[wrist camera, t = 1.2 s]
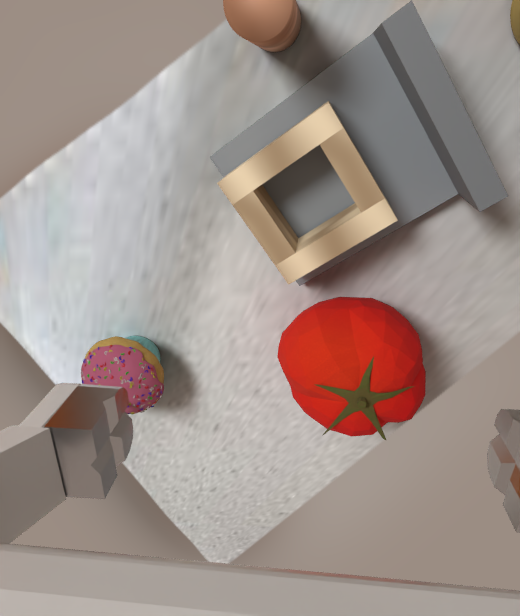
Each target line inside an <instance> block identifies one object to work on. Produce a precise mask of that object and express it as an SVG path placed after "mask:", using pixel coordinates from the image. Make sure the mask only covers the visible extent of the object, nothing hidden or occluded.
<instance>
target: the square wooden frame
mask: <svg viewBox="0 0 520 616" xmlns="http://www.w3.org/2000/svg"><path fill="white" fill-rule="evenodd" d="M318 145H320V146H321V148H322V149H323V151H324V153H325V154H326V156H327V158H328V159H329V161H330V163H331V164H332V166H333V167H334V169H335V171H336V172H337V174H338V176H339V177H340V179H341V181H342V182H343V184H344V185H345V187H346V189H347V190H348V192H349V194H350V195H351V197H352V199H353V200H354V202H355V203H354V204H353V205H351V206H349V207H348V208H346V209H345V210H343V211H341V212H340V213H338V214H337V215H335V216H333V217H332V218H330V219H329V220H327V221H325V222H324V223H322V224H321V225H319V226H317V227H316V228H314V229H313V230H311V231H309V232H308V233H306V234H305V235H303V236H301V237H300V238H298V237H297V235H296V234H295V233H294V231H293V230H292V228H291V227H290V225H289V224H288V222H287V221H286V219H285V218H284V216H283V215H282V213H281V212H280V210H279V209H278V207H277V206H276V204H275V203H274V201H273V200H272V198H271V197H270V195H269V194H268V192H267V191H266V189H265V188H264V186H263V185H262V184H263V183H265V182H266V181H268V180H269V179H270V178H272V177H273V176H275V175H276V174H278V173H279V172H281V171H282V170H283V169H285V168H286V167H288V166H289V165H291V164H292V163H293V162H295V161H296V160H298V159H299V158H301V157H302V156H304V155H305V154H306V153H308V152H309V151H311V150H312V149H314V148H315V147H316V146H318ZM217 184H218V185H219V186H220V188H221V189H222V191H223V192H224V194H225V195H226V196H227V198H228V199H229V201H230V202H231V203H232V205H233V206H234V208H235V209H236V211H237V212H238V213H239V215H240V216H241V218H242V219H243V220H244V222H245V223H246V225H247V226H248V228H249V229H250V230H251V232H252V233H253V235H254V236H255V237H256V239H257V240H258V242H259V243H260V245H261V246H262V247H263V249H264V250H265V252H266V253H267V254H268V256H269V257H270V259H271V260H272V262H273V263H274V264H275V266H276V267H277V269H278V270H279V271H280V273H281V274H282V276H283V277H284V279H285V280H286V281H287V283H288V284H290V283H292V282H294V281H295V280H297V279H299V278H300V277H302V276H304V275H306V274H307V273H309V272H311V271H312V270H314V269H316V268H318V267H319V266H321V265H323V264H324V263H326V262H328V261H329V260H331V259H333V258H335V257H336V256H338V255H340V254H341V253H343V252H345V251H346V250H348V249H350V248H352V247H353V246H355V245H357V244H358V243H360V242H362V241H364V240H365V239H367V238H369V237H370V236H372V235H374V234H375V233H377V232H379V231H381V230H382V229H384V228H386V227H387V226H389V225H391V224H392V223H394V222H396V221H398V220H397V218H396V216H395V214H394V212H393V210H392V208H391V206H390V205H389V203H388V201H387V199H386V198H385V196H384V194H383V193H382V191H381V189H380V188H379V186H378V184H377V182H376V181H375V179H374V177H373V176H372V174H371V172H370V170H369V169H368V167H367V165H366V164H365V162H364V160H363V159H362V157H361V155H360V153H359V152H358V150H357V148H356V147H355V145H354V143H353V142H352V140H351V138H350V136H349V135H348V133H347V131H346V130H345V128H344V126H343V124H342V123H341V121H340V119H339V118H338V116H337V114H336V113H335V111H334V109H333V107H332V106H331V104H330V102H329V101H328V102H326V103H325V104H323V105H322V106H321V107H319V108H318V109H317V110H315V111H314V112H312V113H311V114H310V115H308V116H307V117H306V118H304V119H303V120H301V121H300V122H299V123H297V124H296V125H295V126H293V127H292V128H290V129H289V130H288V131H286V132H285V133H284V134H282V135H281V136H279V137H278V138H277V139H275V140H274V141H273V142H271V143H270V144H269V145H267V146H266V147H264V148H263V149H262V150H260V151H259V152H258V153H256V154H255V155H253V156H252V157H251V158H249V159H248V160H247V161H245V162H244V163H242V164H241V165H240V166H238V167H237V168H236V169H234V170H233V171H231V172H230V173H229V174H227V175H226V176H225V177H224V178H223V179H222V180H221V181H219V182H218V183H217Z"/></svg>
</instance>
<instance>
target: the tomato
mask: <svg viewBox="0 0 520 616" xmlns="http://www.w3.org/2000/svg"><path fill="white" fill-rule="evenodd" d="M278 359H279V362H280V364H281V367H282V369H283V372H284V374H285V376H286V378H287V380H288V382H289V384H290V386H291V390H292V395H293V398H294V399H295V400H296V402H297V403H298V404H299V405H300V407H301V408H302V409H303V411H304V412H305V413H306V414H308V415H309V416H310V417H311V418H313V419H314V420H316V421H317V422H318V423H320V424H321V425H323V426H324V427H325V428H327V430H326V432H328V431H329V430H333V431H336V432H339V433H343V434H346V435H349V436H362V435H372V434H374V433H375V432H377V431H378V432H379V433H380V435H381V436H382V438H383V439H385V440H386V438H385V436H384V433H383V431H382V428H381V427H383V426H384V425H385V424H386V423H387V422H398V423H399V422H402V421H406V420H410V419H412V417H413V416H414V414H415V413H416V411H417V410H418V408H419V407H420V405H421V403H422V401H423V399H424V396H425V369H424V366H423V363H422V362H423V358H422V348H421V344H420V339H419V335H418V333H417V332H416V331H415V329H414V328H413V327H412V325H411V324H410V323H409V321H408V320H407V319H406V318H405V317H404V316H402V315H401V314H400V313H399V312H398V311H397V310H396V309H394V308H393V307H391V306H389V305H387V304H385V303H382V302H380V301H378V300H375V299H373V298H355V297H337V298H333V299H330V300H326V301H322V302H318V303H317V304H315V305H313V306H311V307H310V308H308V309H306V310H304V311H303V312H302V313H301V314H299V315H298V316H297V317H296V318H295V320H294V321H293V322H292V323H291V324H290V325H289V326H288V327H287V328H286V330H285V331H284V332H283V333H282V336H281V340H280V343H279V348H278ZM326 432H325V433H326ZM325 433H324V434H325ZM324 434H323V435H324ZM323 435H322V436H323Z"/></svg>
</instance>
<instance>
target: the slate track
mask: <svg viewBox="0 0 520 616" xmlns="http://www.w3.org/2000/svg"><path fill="white" fill-rule="evenodd" d="M328 101H329V102H330V104H331V106H332V107H333V109H334V111H335V113H336V114H337V116H338V118H339V119H340V121H341V123H342V124H343V126H344V128H345V130H346V131H347V133H348V135H349V136H350V138H351V140H352V142H353V143H354V145H355V147H356V148H357V150H358V152H359V153H360V155H361V157H362V159H363V160H364V162H365V164H366V165H367V167H368V169H369V170H370V172H371V174H372V176H373V177H374V179H375V181H376V182H377V184H378V186H379V188H380V189H381V191H382V193H383V194H384V196H385V198H386V199H387V201H388V203H389V205H390V206H391V208H392V210H393V212H394V214H395V216H396V218H397V220H398V221H396V222H394V223H392V224H391V225H389V226H387V227H386V228H384V229H382V230H381V231H379V232H377V233H375V234H374V235H372V236H370V237H369V238H367V239H365V240H364V241H362V242H360V243H358V244H357V245H355V246H353V247H352V248H350V249H348V250H346V251H345V252H343V253H341V254H340V255H338V256H336V257H335V258H333V259H331V260H329V261H328V262H326V263H324V264H323V265H321V266H319V267H318V268H316V269H314V270H312V271H311V272H309V273H307V274H306V275H304V276H302V277H300V278H299V279H297V280H296V282H297V283H298V284H299V286H300V285H302V284H304V283H305V282H307V281H309V280H311V279H312V278H314V277H316V276H318V275H319V274H321V273H323V272H324V271H326V270H328V269H330V268H331V267H333V266H335V265H337V264H338V263H340V262H342V261H343V260H345V259H347V258H349V257H350V256H352V255H354V254H355V253H357V252H359V251H361V250H362V249H364V248H366V247H368V246H369V245H371V244H373V243H374V242H376V241H378V240H380V239H381V238H383V237H385V236H387V235H388V234H390V233H392V232H393V231H395V230H397V229H399V228H400V227H402V226H404V225H406V224H407V223H409V222H411V221H412V220H414V219H416V218H418V217H419V216H421V215H423V214H424V213H426V212H428V211H430V210H431V209H433V208H435V207H437V206H438V205H440V204H442V203H443V202H445V201H447V200H449V199H450V198H452V197H454V196H456V195H457V194H459V195H460V196H462V197H463V198H464V199H465V200H466V201H467V202H469V203H470V204H471V205H472V206H473V207H475V208H476V209H477V210H478V211H479V212H481V211H483V210H484V209H486V208H488V207H490V206H492V205H493V204H495V203H497V202H499V201H501V200H502V199H504V198H506V197H508V194H507V192H506V190H505V188H504V186H503V184H502V182H501V180H500V178H499V176H498V174H497V172H496V170H495V168H494V166H493V164H492V162H491V160H490V158H489V156H488V154H487V152H486V150H485V148H484V146H483V144H482V142H481V140H480V138H479V136H478V134H477V132H476V130H475V128H474V125H473V123H472V121H471V119H470V117H469V115H468V113H467V111H466V109H465V107H464V105H463V103H462V101H461V99H460V97H459V95H458V93H457V91H456V89H455V87H454V85H453V83H452V81H451V79H450V77H449V75H448V73H447V71H446V69H445V67H444V65H443V63H442V61H441V59H440V57H439V55H438V53H437V51H436V49H435V46H434V44H433V42H432V40H431V38H430V36H429V34H428V32H427V30H426V28H425V26H424V24H423V22H422V20H421V18H420V16H419V14H418V12H417V10H416V8H415V6H414V4H413V2H412V1H410V2H409V3H408V4H406V5H405V6H404V7H402V8H401V9H400V10H398V11H397V12H396V13H394V14H393V15H392V16H391V17H389V18H388V19H387V20H385V21H384V22H383V23H381V25H380V26H379V27H378V28H377V29H376V30H375V31H374V33H373V34H371V35H370V36H369V37H367V38H366V39H365V40H363V41H362V42H361V43H359V44H358V45H357V46H355V47H354V48H353V49H351V50H350V51H349V52H348V53H346V54H345V55H344V56H342V57H341V58H340V59H338V60H337V61H336V62H334V63H333V64H332V65H330V66H329V67H328V68H326V69H325V70H324V71H322V72H321V73H320V74H318V75H317V76H316V77H315V78H313V79H312V80H311V81H309V82H308V83H307V84H305V85H304V86H303V87H301V88H300V89H299V90H297V91H296V92H295V93H293V94H292V95H291V96H289V97H288V98H287V99H286V100H284V101H283V102H282V103H280V104H279V105H278V106H276V107H275V108H274V109H272V110H271V111H270V112H268V113H267V114H266V115H264V116H263V117H262V118H260V119H259V120H258V121H257V122H255V123H254V124H253V125H251V126H250V127H249V128H247V129H246V130H245V131H243V132H242V133H241V134H239V135H238V136H237V137H235V138H234V139H233V140H231V141H230V142H229V143H228V144H226V145H225V146H224V147H222V148H221V149H220V150H218V151H217V152H216V153H214V154H213V155H212V156H210V158H211V160H212V161H213V163H214V164H215V166H216V167H217V168H218V170H219V171H220V173H221V174H222V176H223V177H225V176H226V175H227V174H229V173H230V172H231V171H233V170H234V169H236V168H237V167H238V166H240V165H241V164H242V163H244V162H245V161H247V160H248V159H249V158H251V157H252V156H253V155H255V154H256V153H258V152H259V151H260V150H262V149H263V148H264V147H266V146H267V145H269V144H270V143H271V142H273V141H274V140H275V139H277V138H278V137H279V136H281V135H282V134H284V133H285V132H286V131H288V130H289V129H290V128H292V127H293V126H295V125H296V124H297V123H299V122H300V121H301V120H303V119H304V118H306V117H307V116H308V115H310V114H311V113H312V112H314V111H315V110H317V109H318V108H319V107H321V106H322V105H323V104H325V103H326V102H328ZM262 185H263V186H264V188H265V189H266V191H267V192H268V194H269V195H270V197H271V198H272V200H273V201H274V203H275V204H276V206H277V207H278V209H279V210H280V212H281V213H282V215H283V216H284V218H285V219H286V221H287V222H288V224H289V225H290V227H291V228H292V230H293V231H294V233H295V234H296V235H297V237H298V238H300V237H301V236H303V235H305V234H306V233H308V232H309V231H311V230H313V229H314V228H316V227H317V226H319V225H321V224H322V223H324V222H325V221H327V220H329V219H330V218H332V217H333V216H335V215H337V214H338V213H340V212H341V211H343V210H345V209H346V208H348V207H349V206H351V205H353V204H354V203H355V202H354V200H353V199H352V197H351V195H350V194H349V192H348V190H347V189H346V187H345V185H344V184H343V182H342V181H341V179H340V177H339V176H338V174H337V172H336V171H335V169H334V167H333V166H332V164H331V163H330V161H329V159H328V158H327V156H326V154H325V153H324V151H323V149H322V148H321V146H320V145H318V146H316V147H315V148H314V149H312V150H311V151H309V152H308V153H306V154H305V155H304V156H302V157H301V158H299V159H298V160H296V161H295V162H293V163H292V164H291V165H289V166H288V167H286V168H285V169H283V170H282V171H281V172H279V173H278V174H276V175H275V176H273V177H272V178H270V179H269V180H268V181H266V182H265V183H263V184H262Z"/></svg>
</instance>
